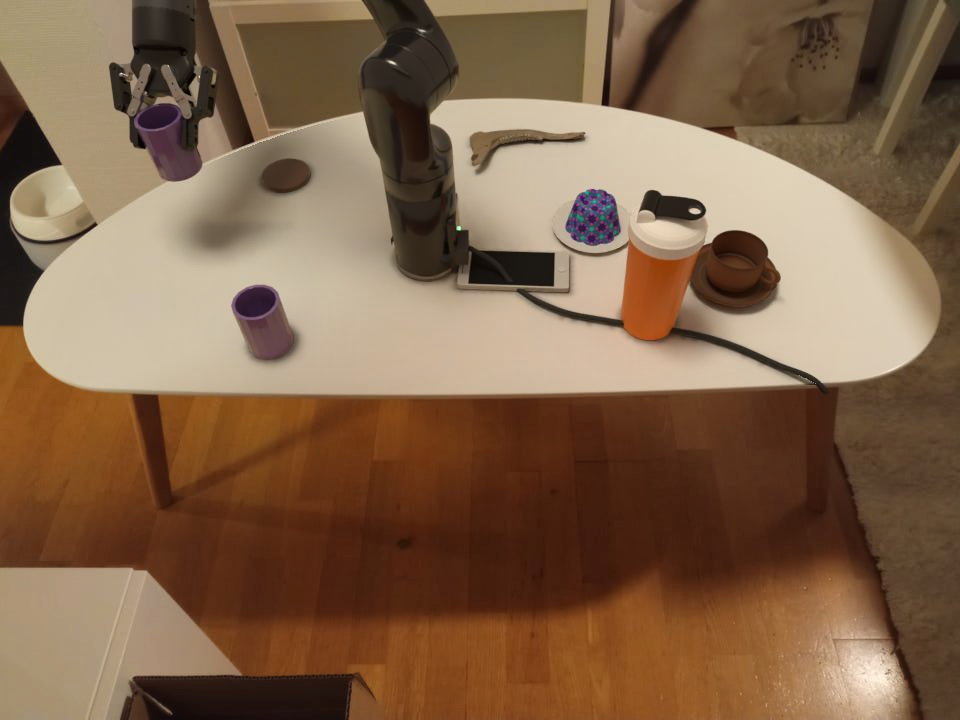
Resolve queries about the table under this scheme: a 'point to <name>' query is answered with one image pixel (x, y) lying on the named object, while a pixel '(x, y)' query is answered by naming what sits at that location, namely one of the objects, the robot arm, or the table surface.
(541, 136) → the jawbone
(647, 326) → the shaker bottle
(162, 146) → the cup
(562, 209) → the pudding
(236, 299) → the cup
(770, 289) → the cup and saucer
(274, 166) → the coaster
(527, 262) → the smartphone
